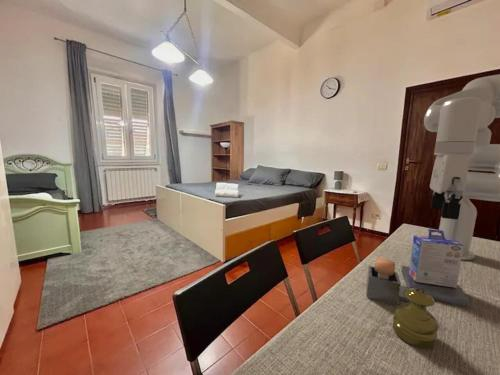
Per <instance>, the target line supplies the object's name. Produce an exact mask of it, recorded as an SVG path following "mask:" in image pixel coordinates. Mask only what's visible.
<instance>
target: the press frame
mask: <svg viewBox="0 0 500 375" xmlns="http://www.w3.org/2000/svg"><path fill="white" fill-rule="evenodd" d="M374 268H375V266H373V265H369V266H368V270H367V278H366V285H365V287H366V288H365V289H366V297H367V299H369V300H373V301H377V302H380V303H384V304H388V305H390V306H394V307H396V306H397V305H399V301H400V302H406V303H409V302H410V301H409V299H408V298H407V297H406V296H405V294H404V291H405V290H406V289H409V288H415V289H421V290H423V291H424V292H426V293H428V294H429V295H431V296H432V297H433V298H434V300H435V301H436V302H437V301H438V302H442V303H445V304H450V305H454V306H458V307H461V308H466V309H468V308H469V304H470V300H469V298H468V297H467V295H466V294H465V293H464V291H462V289H461V287H460V286H459V285H458V284H457V287H456V288H454V287H447V286H441V285H434V284H427V283H420V282H415V281H414V279H413V278H412V277H411V276H410V274H409V270H410V266H407V265H402V266H401V275H402V277H403V281H404V282H405V285H401V280H400V277H399V274H398V272H397V271H395V270H394V274H393V275H389V279H388V280H386V279H382V278H378V272H377V271H376V270H375V269H374Z"/></svg>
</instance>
